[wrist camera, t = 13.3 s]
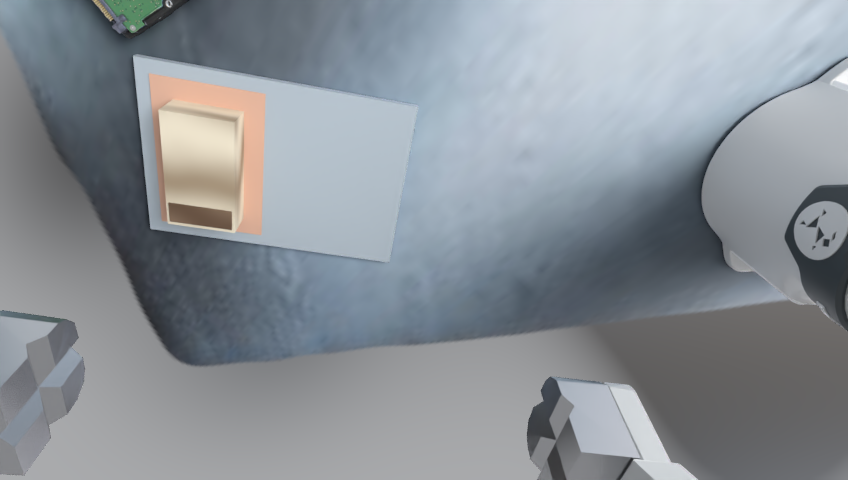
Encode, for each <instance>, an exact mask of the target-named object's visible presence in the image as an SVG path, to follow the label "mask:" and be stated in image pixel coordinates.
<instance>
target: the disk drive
mask: <svg viewBox="0 0 848 480" xmlns="http://www.w3.org/2000/svg"><path fill="white" fill-rule="evenodd" d="M92 1H93V2H94V3H95V4H96V5H97V7H98V8H99V9H100V10H101V11H102V13H103V14H104V15H105V16H106V18H107V19H108V20H109V21H112V22H113V23H114V25H112V28H113V29H115V30H117V32H118V33H120V34H121V33H123V34H124V35H125V36H126V37H127V38H129V39H130V38H133V37H135V36H137V35H139V34H141V33H143V32H144V31H145V30H147V29H148V28H150V27H151V26H153V25H154V24H156V23H157V22H159V21H162V20H163V19H165V18H166V17H168V16H169V15H171V14H172V13H173V12H174V11H175V10H176V9H178V8H179V7H180V6H182V5H183V4H184V3H186V2H187V1H189V0H92Z"/></svg>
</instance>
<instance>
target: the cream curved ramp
mask: <svg viewBox="0 0 848 480" xmlns="http://www.w3.org/2000/svg"><path fill="white" fill-rule="evenodd" d="M158 112H159V124H160V135H161V147H162V159H163V171H164V183H165V195H166V207H167V219H168V224H174V225H181V226H188V227H195V228H202V229H209V230H216V231H223V232H230V233H235V232H236V230H237V228H238V227H239V225H240V223H241V221H242V220H243V218H244V111H239V110H233V109H227V108H221V107H215V106H210V105H204V104H198V103H192V102H186V101H180V100H174V99H173V100H171V101H170V102H168V103H167V104H166V105H164V106H163V107H162V108H160V109H159V110H158Z"/></svg>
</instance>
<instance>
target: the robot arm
mask: <svg viewBox="0 0 848 480" xmlns="http://www.w3.org/2000/svg"><path fill="white" fill-rule="evenodd" d="M702 207H703V212H704V215H705V218H706V220H707V222H708V224H709V225H710V227H711V228H712V229H713V230H714V232H715V233H716V234H717V235H718V236H719V238H720V239H721V241H722V243H723V253H724V258H725V261H726V263H727V264H728V265H729V266H730V267H731V268H733V269H734V270H735V271H738V272H756V273H757V274H758V275H760V276H761V277H762V278H763V279H765V280H766V281H767V282H768V283H769V284H771V285H772V286H773V287H774V288H776V289H777V290H778V291H779V292H781V293H782V294H783V295H784V296H786V297H787V298H788V299H789V300H791V301H792V302H794V303H797V304H799V305H803V304H811V305H818V306H819V307H820V310H822V311H823V313H824V314H825V315H826V316H827V317H829V318H830V319H831V320H832V321H833V322H834V323H837V324H838V325H839V326H842V327H843V328H844V329H845V330H847V331H848V58H847V59H845V60H843V61H842V62H840V63H839V64H837V65H836V66H835V67H833V68H832V69H831V70H829V71H828V72H827V73H825V74H824V75H823V76H822V77H820V78H819V79H818V80H816V81H814V82H812V83H810V84H808V85H806V86H803V87H801V88H798V89H795V90H793V91H790V92H788V93H785V94H783V95H781V96H779V97H777V98H775V99H773V100H771V101H769V102H767V103H766V104H764V105H762V106H761V107H759V108H758V109H756V110H755V111H754V112H752V113H751V114H750V115H748V116H747V117H746V118H745V119H744V120H743V121H741V122H740V123H739V124H738V125H737V126H736V127H735V128H734V129H733V130H732V131H731V132H730V134H729V135H728V136H727V137H726V138H725V140H724V141H723V142H722V144H721V145H720V146H719V148H718V149H717V151H716V152H715V154H714V156H713V158H712V160H711V162H710V164H709V166H708V169H707V171H706V174H705V177H704V181H703V186H702ZM77 339H78V334H77V330H76V326H75V323H74V322H72V321H69V320H67V319H60V318H53V317H46V316H39V315H31V314H25V313H17V312H10V311H4V310H2V311H0V474H7V475H25V474H26V472H27V471H28V469H29V468H30V467H31V465H32V464H33V462H34V461H35V460H36V458H37V457H38V455H39V454H40V453H41V451H42V450H43V448H44V447H45V445H46V444H47V443H48V441H49V440H50V438H51V435H50V429H49V424H51V423H53V422H55V421H57V420H58V419H60V418H62V417H63V416H65V415H67V414H68V413H69V411H70V410H71V408H72V407H73V405H74V404H75V402H76V400H77V399H78V396H79V393H80V391H81V388H82V385H83V382H84V372H85V367H84V361H83V357H81V356H80V355H79V354H78V353H77V352H76V351H75V350H74V349H73V348H72V345H73V344H74V343H75V342H76V340H77ZM541 393H542V396H543V400H544V401H543V402H541V403H540V404H538V405H537V406H535V407H533V410H532V413H531V415H530V418H529V422H528V429H527V443H528V450H529V455H530V459H531V460H532V462H533V463H534V464H535V465H536V466H537V467H538V468H539V469H540V470H541V473H540V475H539V477H538V479H537V480H698V479H696V478H695V477H694V476H693V475H692V474H691V473H689V472H688V471H687V470H686V469H685V468H684V467H683V466H681V465H680V464H677V463H671V461H670V459H669V457H668V455H667V453H666V451H665V449H664V448H663V445H662V443H661V441H660V439H659V437H658V435H657V433H656V432H655V429H654V428H653V425H652V423H651V422H650V419H649V417H648V415H647V413H646V412H645V409H644V408H643V405H642V404H641V402H640V400H639V398H638V396H637V394H636V392H635V390H634V389H633V388H632V387H631V386H630V385H625V384H616V383H607V382H602V383H600V382H596V381H587V380H578V379H569V378H559V377H549V378H548V379H547V380H546V381H545V383H544V385H543V387H542V389H541Z"/></svg>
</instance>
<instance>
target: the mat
mask: <svg viewBox="0 0 848 480" xmlns="http://www.w3.org/2000/svg"><path fill="white" fill-rule="evenodd" d="M133 62H134V71H135V81H136V91H137V101H138V111H139V120H140V130H141V140H142V150H143V160H144V169H145V179H146V189H147V199H148V209H149V218H150V228H151V229H155V230H162V231H169V232H176V233H183V234H190V235H197V236H204V237H211V238H218V239H225V240H232V241H240V242H247V243H254V244H261V245H268V246H275V247H282V248H289V249H296V250H303V251H310V252H317V253H324V254H331V255H338V256H346V257H353V258H360V259H367V260H374V261H381V262H388V263H389V261H390V256H391V251H392V245H393V240H394V234H395V229H396V224H397V218H398V213H399V208H400V202H401V197H402V192H403V186H404V181H405V175H406V170H407V165H408V159H409V154H410V149H411V143H412V138H413V133H414V127H415V122H416V116H417V111H418V105H415V104H410V103H404V102H399V101H393V100H388V99H382V98H377V97H371V96H366V95H360V94H354V93H349V92H343V91H338V90H332V89H327V88H321V87H316V86H310V85H305V84H299V83H294V82H288V81H283V80H277V79H272V78H266V77H260V76H255V75H249V74H244V73H238V72H233V71H227V70H222V69H216V68H211V67H205V66H200V65H194V64H189V63H183V62H177V61H172V60H166V59H161V58H155V57H150V56H144V55H139V54H136V55H134V56H133ZM173 99H174V100H180V101H186V102H192V103H198V104H204V105H210V106H215V107H221V108H227V109H233V110H239V111H244V218H243V220H242V221H241V223H240V225H239V227H238V228H237V230H236V232H235V233H230V232H223V231H216V230H209V229H202V228H195V227H188V226H181V225H174V224H168V219H167V207H166V195H165V183H164V171H163V159H162V147H161V135H160V124H159V112H158V110H159V109H160V108H162V107H163V106H164V105H166V104H167V103H168V102H170V101H171V100H173Z"/></svg>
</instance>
